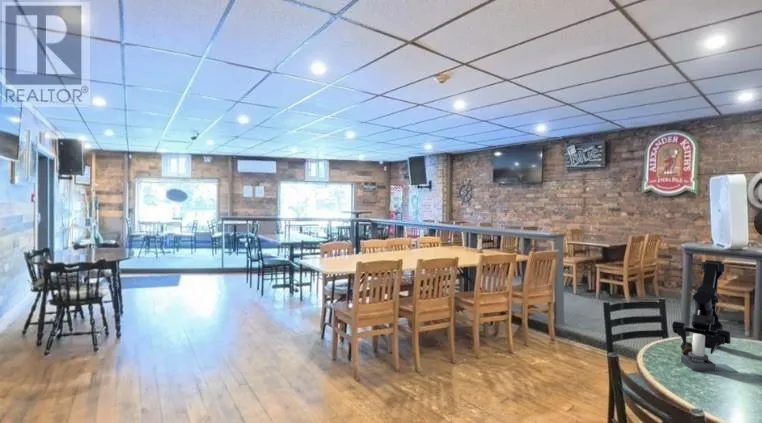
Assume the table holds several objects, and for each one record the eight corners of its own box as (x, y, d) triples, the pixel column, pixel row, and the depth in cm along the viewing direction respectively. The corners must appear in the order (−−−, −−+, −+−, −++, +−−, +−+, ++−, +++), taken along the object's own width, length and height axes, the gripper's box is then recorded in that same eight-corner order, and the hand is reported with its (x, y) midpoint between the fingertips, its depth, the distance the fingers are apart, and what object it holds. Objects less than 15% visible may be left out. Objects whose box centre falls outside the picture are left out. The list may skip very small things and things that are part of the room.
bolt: (687, 353, 187) (692, 363, 174) (675, 345, 189) (680, 355, 176) (696, 343, 185) (701, 353, 172) (684, 335, 187) (689, 345, 174)
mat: (706, 364, 170) (706, 363, 170) (725, 365, 169) (725, 364, 169) (718, 371, 163) (718, 370, 163) (738, 372, 162) (738, 371, 162)
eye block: (681, 362, 172) (681, 355, 172) (702, 363, 171) (702, 356, 171) (692, 370, 164) (693, 362, 164) (715, 371, 163) (715, 364, 163)
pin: (684, 363, 171) (685, 332, 170) (701, 364, 170) (702, 332, 170) (693, 369, 165) (695, 337, 164) (711, 370, 164) (713, 338, 163)
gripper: (673, 302, 176) (667, 334, 168) (731, 311, 163) (727, 346, 155) (676, 316, 182) (670, 348, 174) (732, 326, 169) (728, 360, 161)
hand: (697, 350), depth 166 cm, fingers open, 8 cm apart
